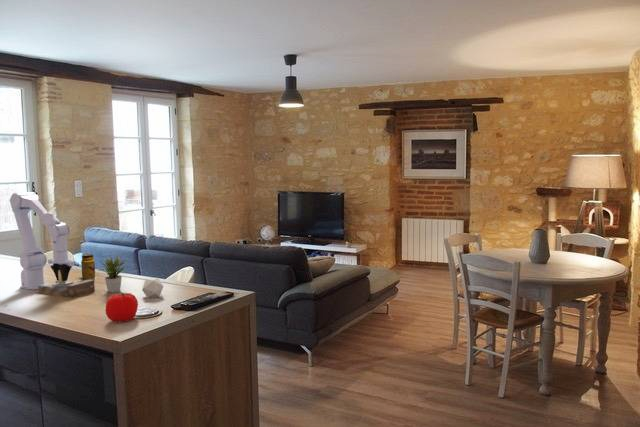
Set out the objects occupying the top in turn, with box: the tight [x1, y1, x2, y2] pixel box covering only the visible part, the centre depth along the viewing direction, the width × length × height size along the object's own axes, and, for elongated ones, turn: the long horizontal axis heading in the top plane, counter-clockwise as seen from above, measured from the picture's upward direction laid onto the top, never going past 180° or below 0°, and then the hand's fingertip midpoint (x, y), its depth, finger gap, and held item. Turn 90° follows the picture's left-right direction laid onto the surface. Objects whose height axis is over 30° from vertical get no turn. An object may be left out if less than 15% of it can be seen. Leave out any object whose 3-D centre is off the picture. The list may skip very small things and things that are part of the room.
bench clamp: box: [36, 279, 96, 298], centre depth 235 cm, size 22×12×5 cm, turn 65°
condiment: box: [76, 253, 98, 282], centre depth 260 cm, size 7×8×12 cm
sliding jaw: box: [51, 270, 74, 288], centre depth 236 cm, size 5×7×8 cm
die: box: [141, 277, 164, 299], centre depth 226 cm, size 8×9×10 cm
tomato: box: [105, 292, 139, 323], centre depth 193 cm, size 12×12×10 cm
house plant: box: [97, 254, 129, 293], centre depth 234 cm, size 14×14×16 cm
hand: (62, 280), depth 236 cm, fingers closed on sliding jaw, 3 cm apart
